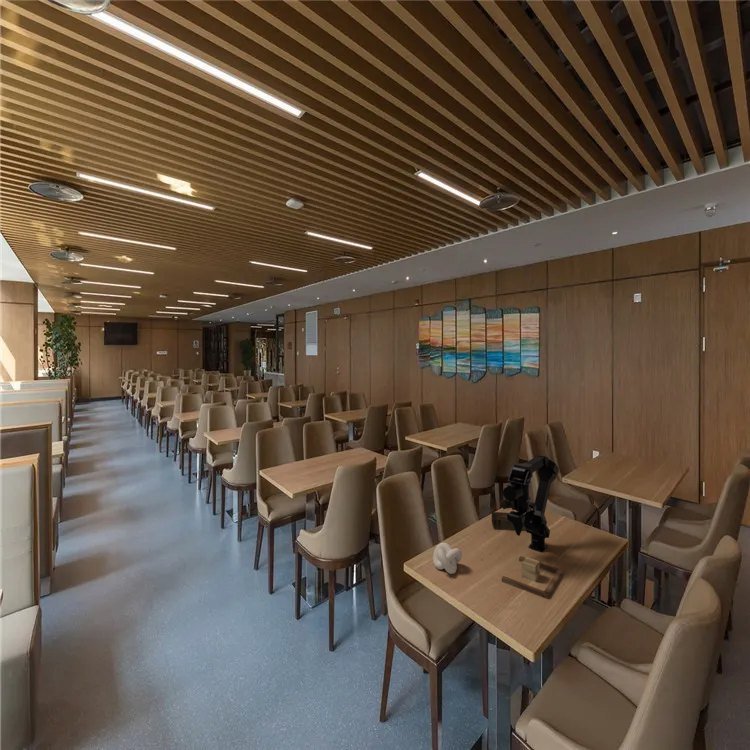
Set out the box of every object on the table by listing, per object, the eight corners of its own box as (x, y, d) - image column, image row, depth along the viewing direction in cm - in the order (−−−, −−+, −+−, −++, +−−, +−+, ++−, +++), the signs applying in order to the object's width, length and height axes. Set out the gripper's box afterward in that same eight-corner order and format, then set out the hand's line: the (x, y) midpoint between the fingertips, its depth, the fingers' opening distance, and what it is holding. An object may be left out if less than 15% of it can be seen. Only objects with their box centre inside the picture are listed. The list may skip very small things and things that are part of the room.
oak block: (526, 571, 147) (526, 557, 147) (539, 576, 144) (539, 561, 143) (521, 577, 143) (521, 562, 143) (535, 582, 140) (535, 566, 140)
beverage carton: (533, 532, 181) (533, 518, 181) (493, 530, 184) (493, 517, 184) (529, 525, 189) (529, 512, 188) (490, 523, 192) (490, 510, 192)
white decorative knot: (425, 568, 151) (425, 547, 151) (442, 557, 159) (442, 536, 159) (449, 579, 143) (448, 557, 143) (465, 567, 151) (465, 545, 151)
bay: (520, 559, 156) (520, 556, 156) (562, 573, 145) (562, 569, 145) (501, 581, 141) (501, 577, 141) (547, 598, 130) (547, 594, 130)
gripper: (511, 485, 168) (511, 518, 168) (494, 497, 154) (494, 533, 154) (536, 490, 160) (536, 525, 161) (521, 503, 146) (521, 541, 147)
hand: (522, 531), depth 156 cm, fingers open, 9 cm apart
